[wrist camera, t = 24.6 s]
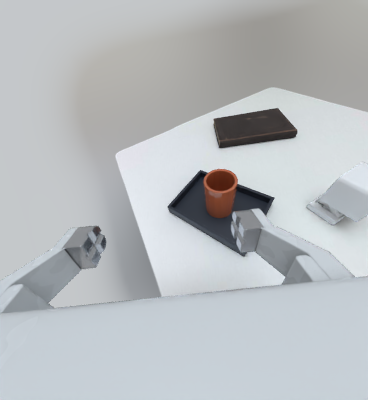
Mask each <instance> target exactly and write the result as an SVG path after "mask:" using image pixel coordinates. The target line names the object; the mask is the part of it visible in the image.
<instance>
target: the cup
mask: <svg viewBox="0 0 368 400" xmlns="http://www.w3.org/2000/svg"><path fill="white" fill-rule="evenodd" d="M203 182H204V194H205V206H206V210H207V212H208V213H209V214H210V215H211V216H213V217H215V218H224V217H227V216H228V215H230V214H231V212H232V210H233V206H234V200H235V195H236V189H237V183H238V179H237V177H236V175H235V174H234V173H233V172H231V171H229V170H226V169H217V170H213V171H211V172H209V173H208V174H207V175H206V176H205V177H204V181H203Z"/></svg>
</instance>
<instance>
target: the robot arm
mask: <svg viewBox="0 0 368 400" xmlns="http://www.w3.org/2000/svg"><path fill="white" fill-rule="evenodd" d="M232 218H233V221H232V222H231V231H232V234H233V237H234V238H235V239H237V242H236V244H237V246H238V248H239V250H240V253H242V252H255V251H256V253H257V254H258V255H259V256H261V257H262V258H263V259H264V260H266V261H267V262H268V263H269V264H270V265H272V266H273V267H274V268H275V269H277V270H278V271H279V272H280V273H281V274H283V275H284V276H285V279H284V281H283V283H282V285H275V286H265V287H256V288H246V289H236V290H226V291H216V292H207V293H197V294H187V295H177V296H167V297H158V298H148V299H138V300H129V301H119V302H109V303H99V304H90V305H80V306H70V307H61V308H54V307H52V306H51V305H50V304H48V303H49V302H50V301H51V299H53V298H54V297H55V296H56V295H57V294H58V293H59V292H60V291H61V290H62V289H63V288H64V287H65V286H66V285H67V284H68V283H69V282H70V281H71V280H72V279H73V278H74V277H75V276H76V275H77V274H78V273H79V272H80V271H81V269H88V268H95V267H97V264H98V262H99V260H100V258H101V256H100V254H101V253H102V252H103V251H104V250H105V247H106V238H105V236H104V235H102V234H101V233H100V232H101V230H100V228H99V226H88V227H77V228H71V229H69V230H68V231H67V232H66V234H65V235H64V236H63V237H62V238H61V239H60V241H59V242H58V243H57V244H56V245H55V246H54V248H53V249H52V250H48V251H47V252H46V253H44V254H42V255H41V256H39V257H37V258H36V259H34V260H32V261H31V262H29V263H28V264H26V265H24V266H23V267H21V268H20V269H18V270H16V271H15V272H13V273H12V274H10V275H8V276H7V277H6V278H4V279H2V280H1V281H0V400H368V276H363V277H355V276H354V275H353V274H352V273H351V272H350V271H348V270H347V269H346V268H345V267H344V266H343V265H342V264H341V263H340V262H339V261H338V260H337V259H336V258H335V257H334V256H333V255H332V254H331V253H330V252H328V251H326V250H324V249H322V248H320V247H318V246H316V245H314V244H312V243H310V242H308V241H306V240H304V239H302V238H300V237H298V236H296V235H294V234H292V233H289V232H287V231H285V230H283V229H281V228H279V227H274V225H273V224H272V223H271V222H270V221H269V219H268V218H267V217H266V216H265V214H264V213H263V212H262V211H261V210H260V209H259V208H257V209H250V210H242V211H233V213H232Z"/></svg>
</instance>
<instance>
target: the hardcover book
mask: <svg viewBox="0 0 368 400" xmlns="http://www.w3.org/2000/svg"><path fill="white" fill-rule="evenodd" d="M214 128H215V132H216V136H217V140H218V144H219V148H221V147H228V146H235V145H242V144H249V143H256V142H263V141H270V140H277V139H284V138H291V137H295V136H296V134H297V129H296V128H295V127H294V126H293V125H292V124H291V123H290V121H289V120H288V119H287V118H286V117H285V116H284V115H283V114H282V112H281V111H280V110H279V109H278V108H275V109H269V110H263V111H257V112H252V113H246V114H240V115H234V116H228V117H222V118H216V119H214Z"/></svg>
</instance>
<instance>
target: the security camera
mask: <svg viewBox="0 0 368 400" xmlns="http://www.w3.org/2000/svg"><path fill="white" fill-rule="evenodd" d="M319 203H320V204H323V205H324V206H321V205H320V204H319ZM307 208H308V209H310V210H311V211H313V212H314V213H315V214H317V215H318V216H320V217H321V218H323V219H324V220H325V221H327V222H328V223H330V224H331V225H335V224H336V223H337V222H339V221H340V220H341V219H343V218H344V217H345V216H347V217H349V218H350V219H352V220H353V221H355V222H357V221H359V220H361V219H363V218H364V217H366V216H367V215H368V164H367V163H365V162H361V163H359V164H358V165H356V166H355V167H353V168H352V169H350V170H349V171H348V172H346V173H345V174H343V175H342V176H340V177H339V178H338V179H337V180H336V181H335V182H334V183H333V184H332V186H331V187H330V188H329V189H328V190H327V191H326V192H325V193H323V194H322V195H320V196H319V197H318V198H316V199H315V200H313V201H312V202H310V203H309V204H308V205H307Z"/></svg>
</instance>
